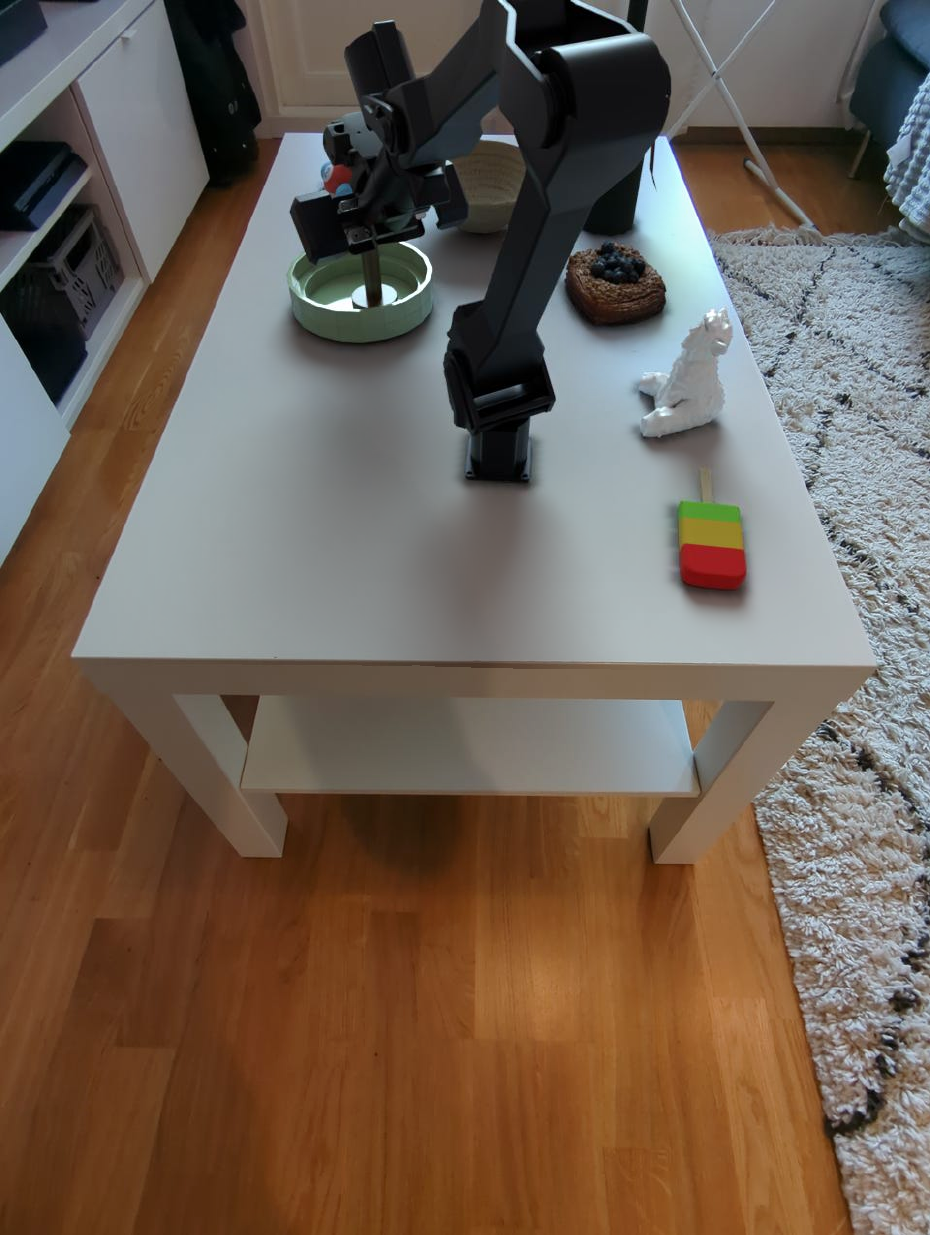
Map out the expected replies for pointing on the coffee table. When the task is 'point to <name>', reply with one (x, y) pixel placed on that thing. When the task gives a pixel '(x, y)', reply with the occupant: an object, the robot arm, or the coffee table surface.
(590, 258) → the pastry
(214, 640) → the coffee table surface
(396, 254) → the green round dish
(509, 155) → the bowl
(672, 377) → the sitting furry creature
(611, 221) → the wine bottle
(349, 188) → the toy car
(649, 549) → the coffee table surface
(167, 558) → the coffee table surface
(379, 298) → the paper towel holder
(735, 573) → the popsicle
